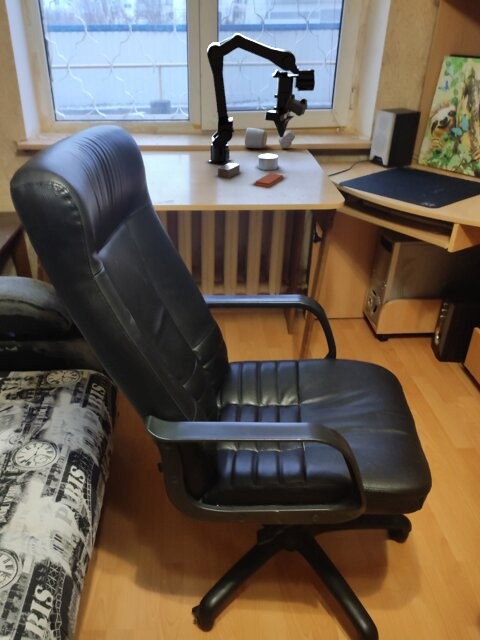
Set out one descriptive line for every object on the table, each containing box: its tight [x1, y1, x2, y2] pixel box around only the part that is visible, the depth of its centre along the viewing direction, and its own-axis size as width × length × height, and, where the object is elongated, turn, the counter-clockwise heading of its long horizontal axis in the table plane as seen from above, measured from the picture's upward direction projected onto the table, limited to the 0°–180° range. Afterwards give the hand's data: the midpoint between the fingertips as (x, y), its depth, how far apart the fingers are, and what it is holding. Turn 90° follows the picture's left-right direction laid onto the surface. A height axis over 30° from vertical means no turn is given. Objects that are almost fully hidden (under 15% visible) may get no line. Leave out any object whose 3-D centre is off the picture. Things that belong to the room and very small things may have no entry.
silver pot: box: [257, 153, 279, 171], centre depth 205 cm, size 7×7×4 cm
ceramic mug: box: [244, 127, 268, 149], centre depth 228 cm, size 11×8×8 cm
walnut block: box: [217, 162, 241, 179], centre depth 198 cm, size 4×8×3 cm, turn 147°
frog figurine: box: [278, 129, 296, 150], centre depth 225 cm, size 6×7×7 cm
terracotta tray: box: [253, 172, 284, 188], centre depth 192 cm, size 6×12×1 cm, turn 147°
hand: (281, 137), depth 208 cm, fingers closed
